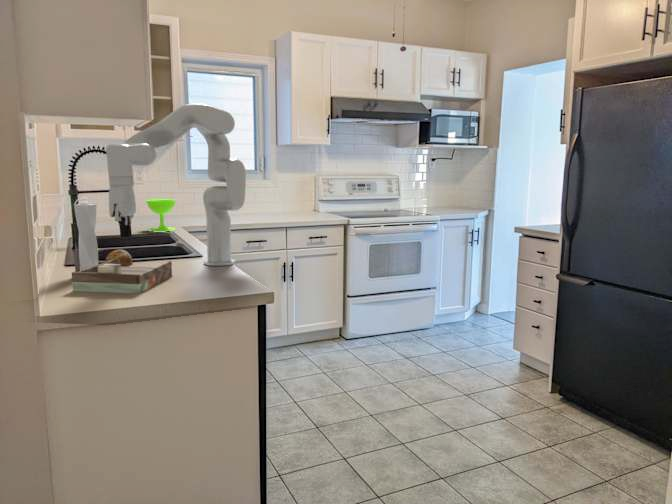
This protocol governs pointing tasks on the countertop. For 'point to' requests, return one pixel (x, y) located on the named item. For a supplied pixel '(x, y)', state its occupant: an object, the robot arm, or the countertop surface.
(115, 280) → the trap box
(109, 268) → the birch block
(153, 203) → the wineglass
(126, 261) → the bread roll
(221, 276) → the countertop surface
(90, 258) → the skyscraper
